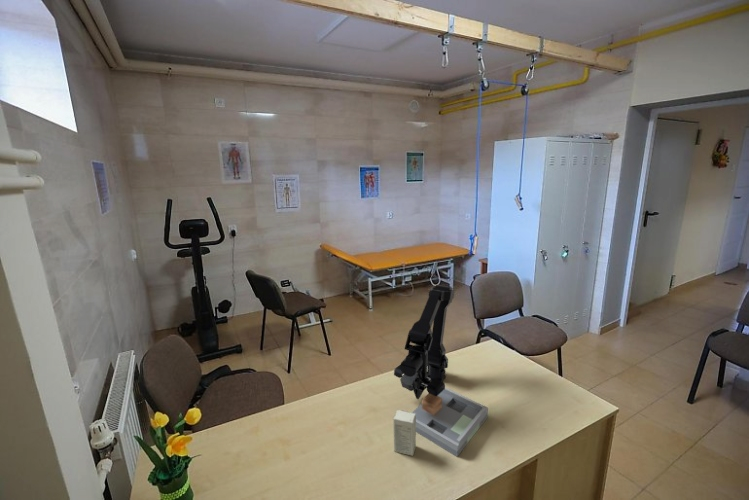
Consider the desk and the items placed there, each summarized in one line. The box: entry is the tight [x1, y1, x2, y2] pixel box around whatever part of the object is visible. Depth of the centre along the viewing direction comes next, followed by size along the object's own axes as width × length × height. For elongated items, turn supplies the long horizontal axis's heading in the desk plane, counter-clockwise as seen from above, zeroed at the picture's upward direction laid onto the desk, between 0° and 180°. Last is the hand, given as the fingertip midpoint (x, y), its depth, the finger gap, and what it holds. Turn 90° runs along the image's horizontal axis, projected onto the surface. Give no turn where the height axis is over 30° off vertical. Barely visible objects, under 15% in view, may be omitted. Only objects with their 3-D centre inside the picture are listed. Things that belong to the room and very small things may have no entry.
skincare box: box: [392, 409, 417, 457], centre depth 107 cm, size 6×4×12 cm
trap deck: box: [411, 387, 489, 457], centre depth 119 cm, size 20×22×5 cm
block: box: [421, 393, 442, 415], centre depth 123 cm, size 5×5×4 cm
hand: (418, 398), depth 127 cm, fingers closed
